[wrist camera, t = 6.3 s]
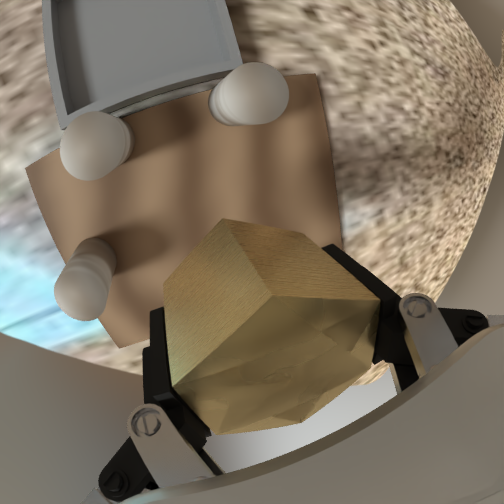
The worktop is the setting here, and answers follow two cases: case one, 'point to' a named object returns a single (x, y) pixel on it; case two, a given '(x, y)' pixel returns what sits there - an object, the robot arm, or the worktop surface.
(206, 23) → the tray
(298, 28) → the worktop surface
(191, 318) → the faceted yellow gem
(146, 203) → the board
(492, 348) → the robot arm
